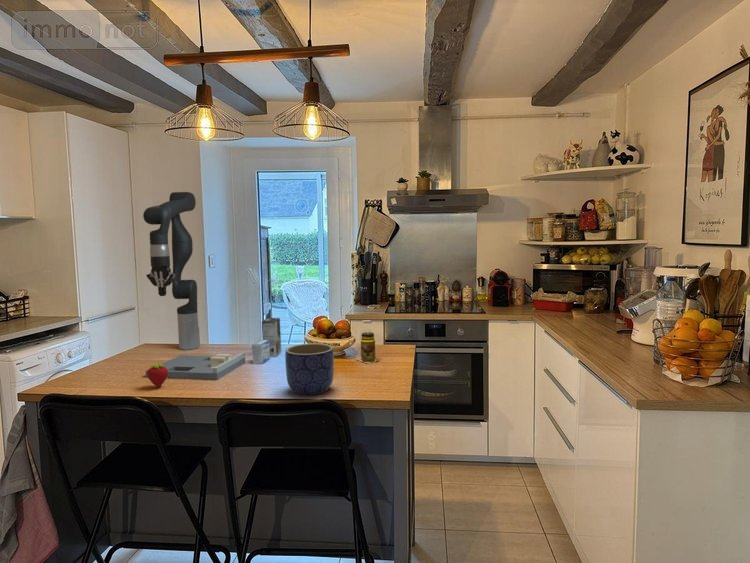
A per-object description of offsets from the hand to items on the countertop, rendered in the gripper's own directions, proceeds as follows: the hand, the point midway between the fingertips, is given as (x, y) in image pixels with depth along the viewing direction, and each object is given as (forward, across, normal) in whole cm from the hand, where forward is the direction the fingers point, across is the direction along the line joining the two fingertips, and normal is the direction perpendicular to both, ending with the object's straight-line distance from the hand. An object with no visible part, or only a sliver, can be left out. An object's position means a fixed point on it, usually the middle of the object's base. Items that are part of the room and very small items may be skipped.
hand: (162, 295), depth 207 cm
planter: (+29, -74, +28) cm, 84 cm away
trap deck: (+29, -20, +9) cm, 36 cm away
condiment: (+29, -86, -13) cm, 92 cm away
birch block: (+26, -30, +9) cm, 41 cm away
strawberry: (+29, -18, +32) cm, 47 cm away
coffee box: (+29, -41, -18) cm, 53 cm away
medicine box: (+29, -41, -6) cm, 51 cm away
